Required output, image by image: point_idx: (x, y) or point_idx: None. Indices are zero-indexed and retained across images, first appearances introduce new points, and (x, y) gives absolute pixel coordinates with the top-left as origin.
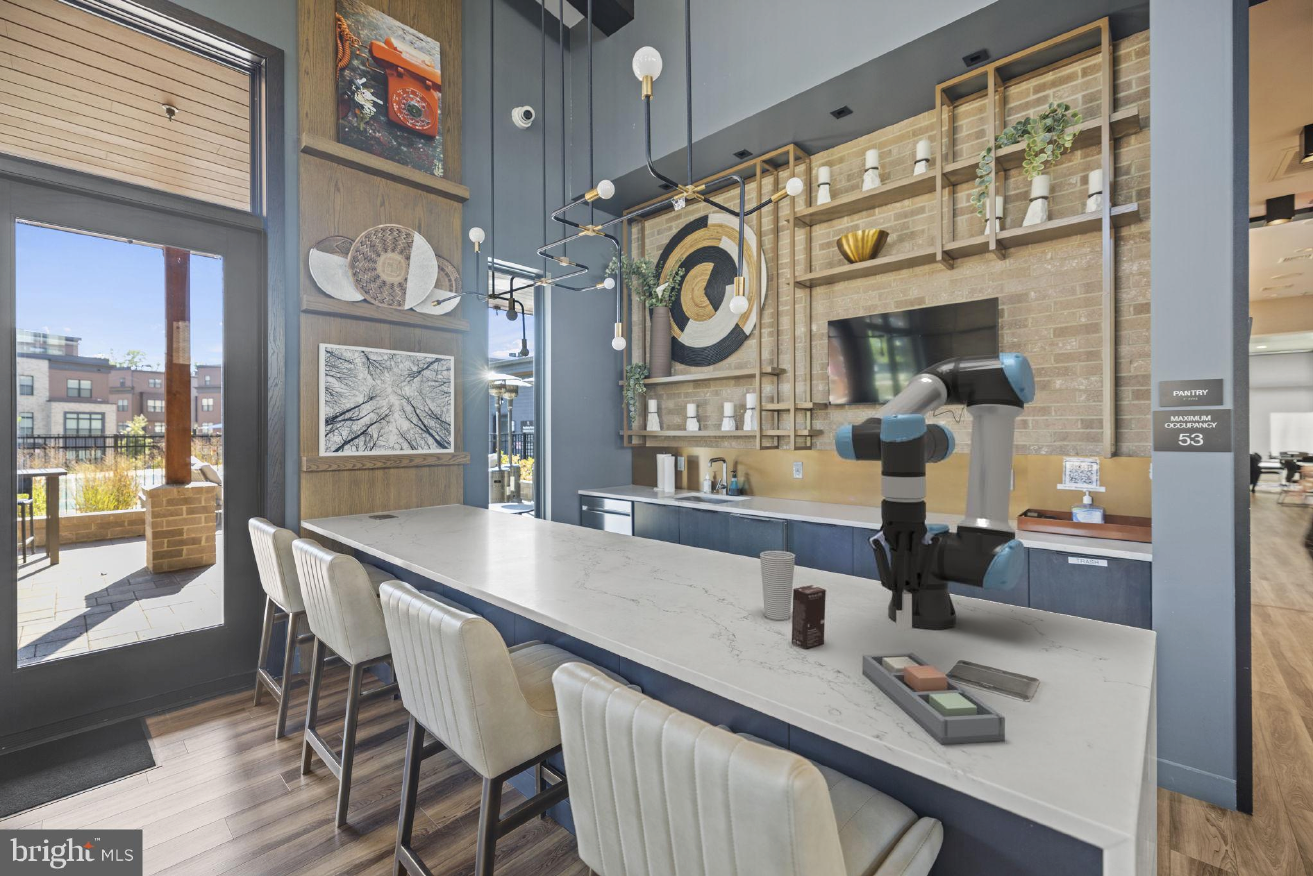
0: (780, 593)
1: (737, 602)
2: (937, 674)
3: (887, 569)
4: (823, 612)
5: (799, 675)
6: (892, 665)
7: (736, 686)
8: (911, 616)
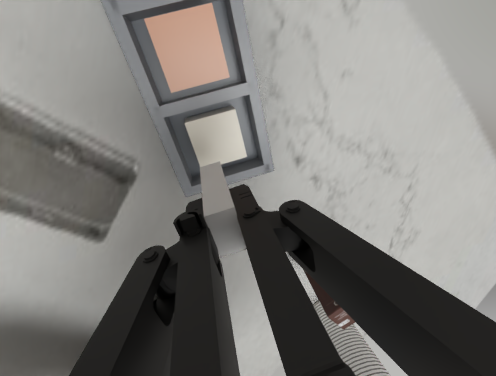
0: (343, 332)
1: None
2: (164, 33)
3: (355, 257)
4: (313, 279)
5: (356, 136)
6: (238, 123)
7: (452, 81)
8: (202, 179)
